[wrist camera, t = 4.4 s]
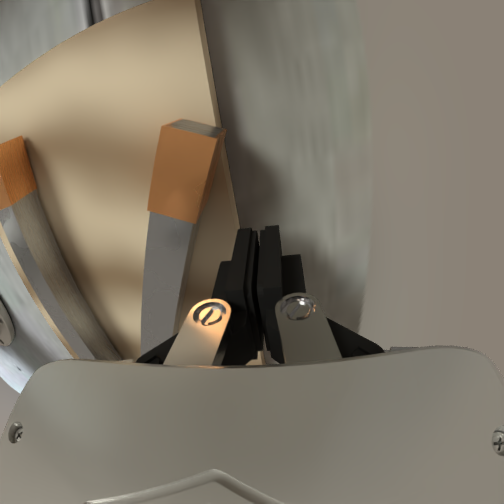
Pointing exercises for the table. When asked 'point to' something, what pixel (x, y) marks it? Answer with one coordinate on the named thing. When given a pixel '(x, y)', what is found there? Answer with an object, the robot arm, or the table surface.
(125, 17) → the board
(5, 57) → the table surface
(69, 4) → the table surface
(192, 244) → the tongs arm
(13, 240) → the arm
